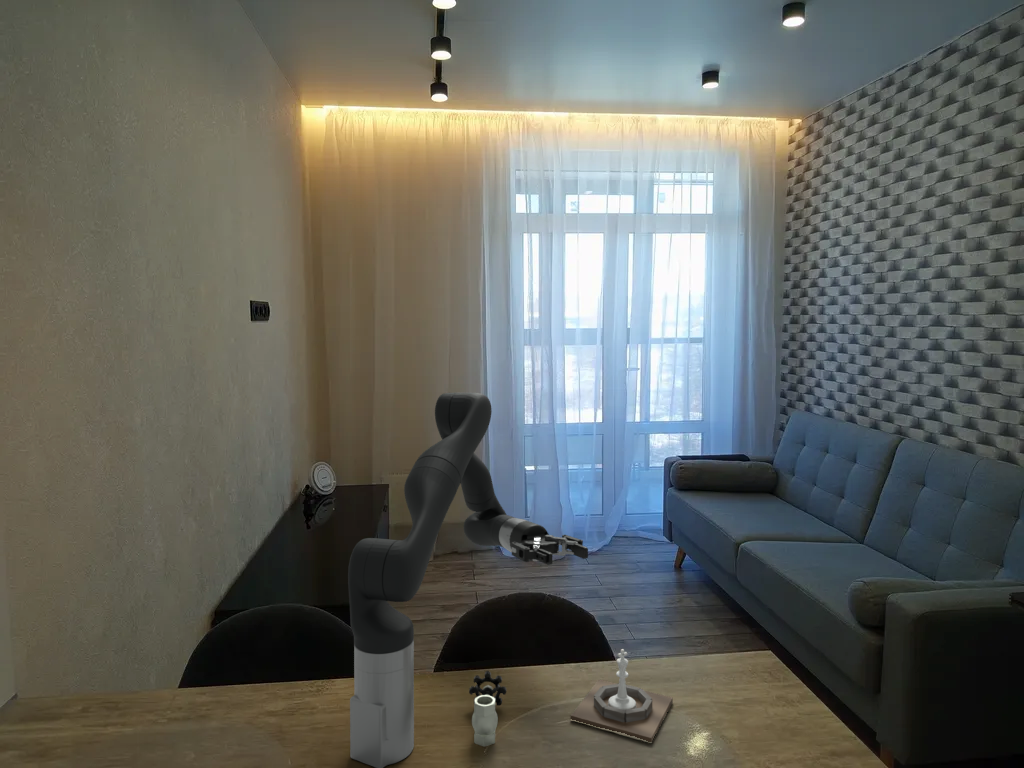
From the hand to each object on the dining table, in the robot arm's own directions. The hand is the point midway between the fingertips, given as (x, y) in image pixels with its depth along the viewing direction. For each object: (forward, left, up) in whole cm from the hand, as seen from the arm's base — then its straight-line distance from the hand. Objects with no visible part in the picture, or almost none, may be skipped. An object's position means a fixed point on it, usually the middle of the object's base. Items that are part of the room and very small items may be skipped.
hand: (569, 556), depth 123 cm
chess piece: (-6, -13, -23) cm, 27 cm away
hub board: (-7, -13, -24) cm, 28 cm away
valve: (-21, +6, -24) cm, 33 cm away
